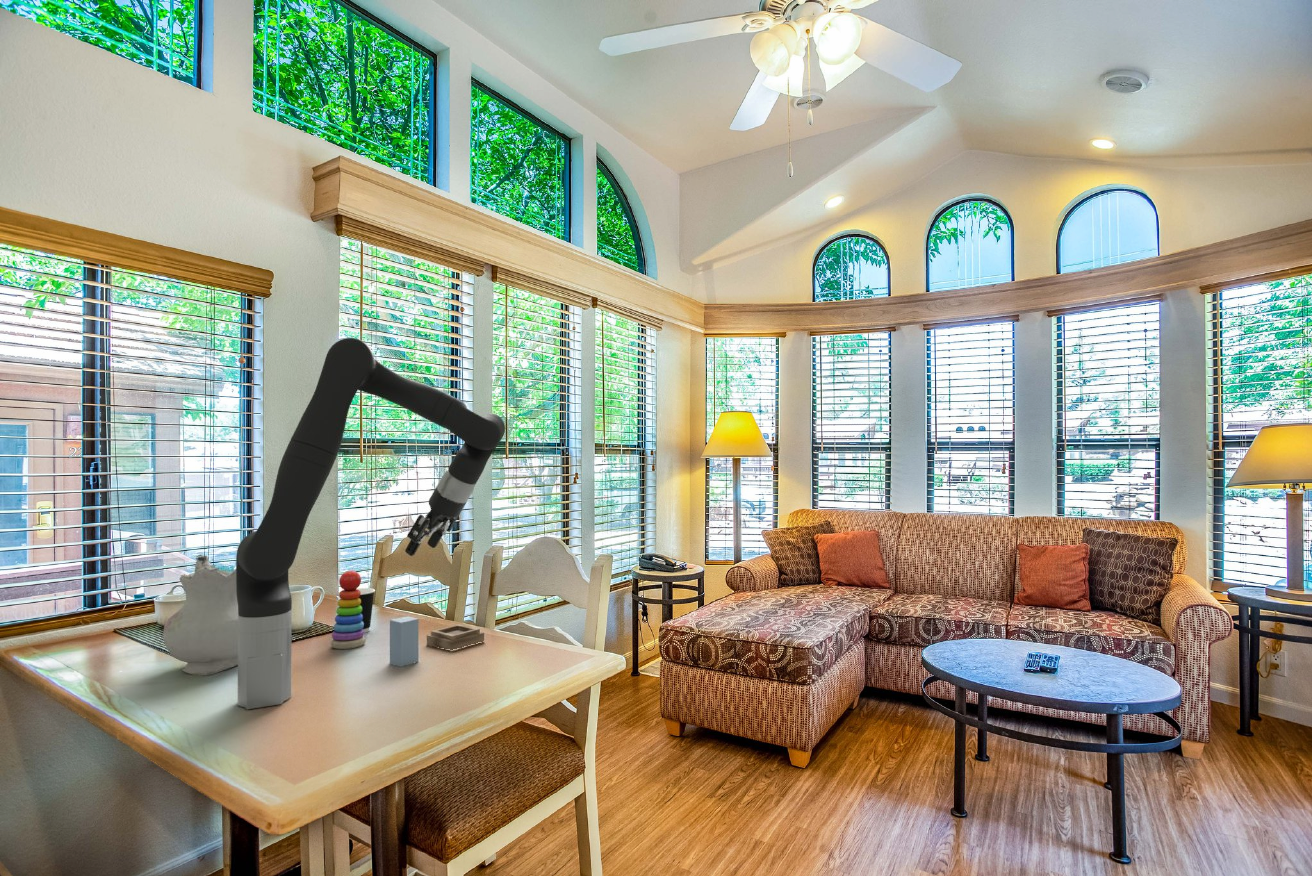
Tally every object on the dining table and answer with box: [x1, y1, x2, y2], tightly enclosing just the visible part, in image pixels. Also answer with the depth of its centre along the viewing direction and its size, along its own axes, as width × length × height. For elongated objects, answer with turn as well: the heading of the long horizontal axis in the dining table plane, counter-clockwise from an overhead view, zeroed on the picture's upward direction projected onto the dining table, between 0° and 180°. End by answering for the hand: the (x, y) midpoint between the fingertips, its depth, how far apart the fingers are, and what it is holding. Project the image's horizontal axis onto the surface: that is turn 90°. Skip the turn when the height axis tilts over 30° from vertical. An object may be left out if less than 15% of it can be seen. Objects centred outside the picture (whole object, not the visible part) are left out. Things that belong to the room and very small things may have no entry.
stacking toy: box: [330, 570, 366, 650], centre depth 175 cm, size 8×8×19 cm
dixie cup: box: [357, 587, 376, 634], centre depth 189 cm, size 8×8×11 cm
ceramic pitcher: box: [162, 554, 238, 676], centre depth 159 cm, size 22×20×25 cm
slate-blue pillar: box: [389, 615, 420, 668], centre depth 160 cm, size 4×4×10 cm
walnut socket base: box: [426, 623, 485, 650], centre depth 176 cm, size 10×10×4 cm
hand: (420, 549), depth 159 cm, fingers open, 8 cm apart
